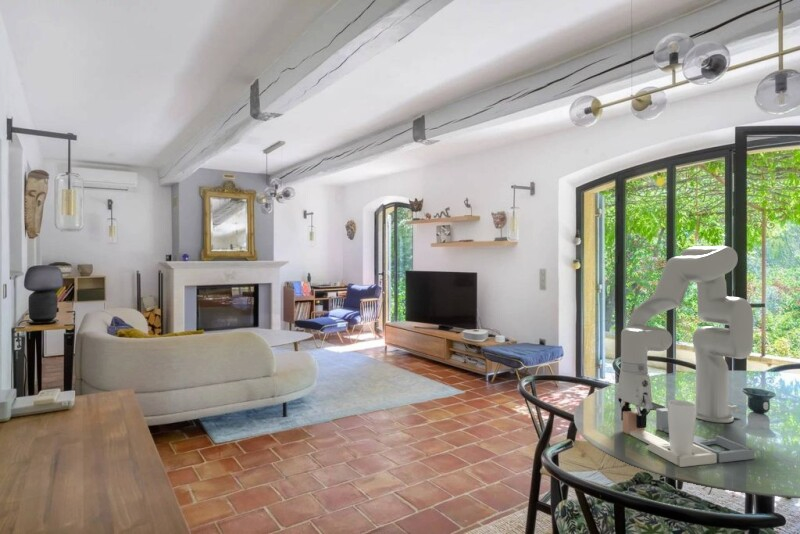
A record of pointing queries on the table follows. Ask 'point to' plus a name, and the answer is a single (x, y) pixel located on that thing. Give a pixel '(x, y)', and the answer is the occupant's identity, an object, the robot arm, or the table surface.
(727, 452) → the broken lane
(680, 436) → the drinking glass
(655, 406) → the smartphone
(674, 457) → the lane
